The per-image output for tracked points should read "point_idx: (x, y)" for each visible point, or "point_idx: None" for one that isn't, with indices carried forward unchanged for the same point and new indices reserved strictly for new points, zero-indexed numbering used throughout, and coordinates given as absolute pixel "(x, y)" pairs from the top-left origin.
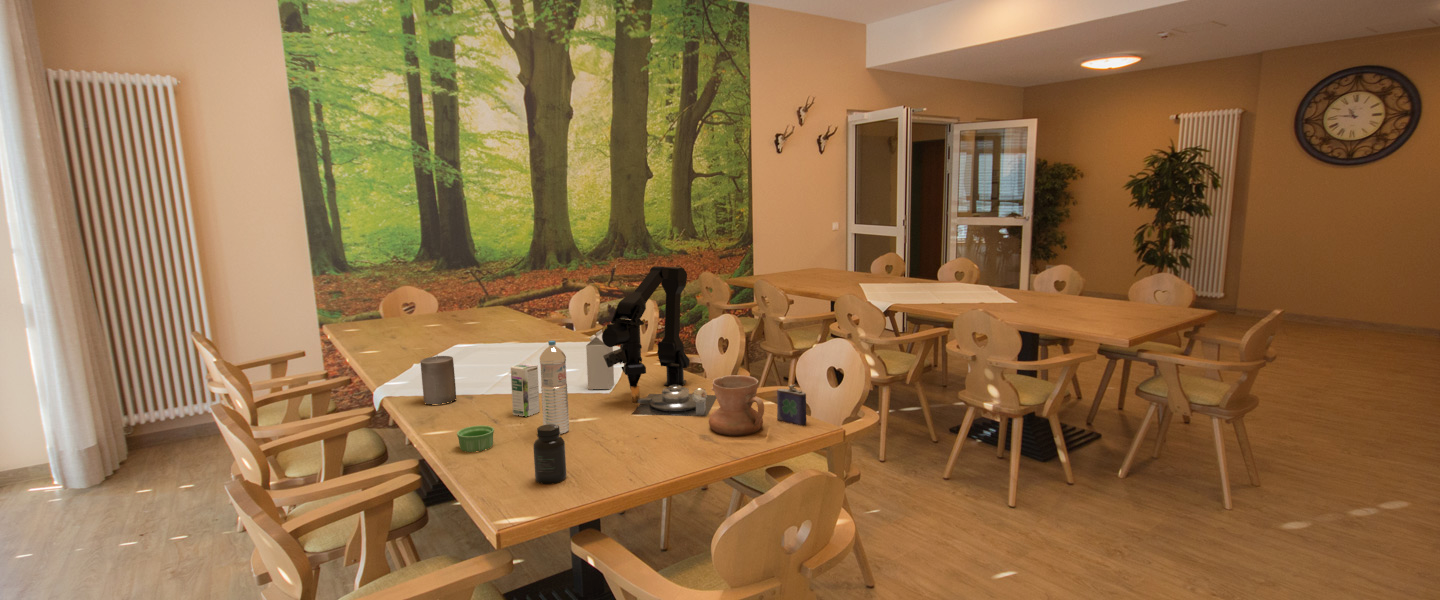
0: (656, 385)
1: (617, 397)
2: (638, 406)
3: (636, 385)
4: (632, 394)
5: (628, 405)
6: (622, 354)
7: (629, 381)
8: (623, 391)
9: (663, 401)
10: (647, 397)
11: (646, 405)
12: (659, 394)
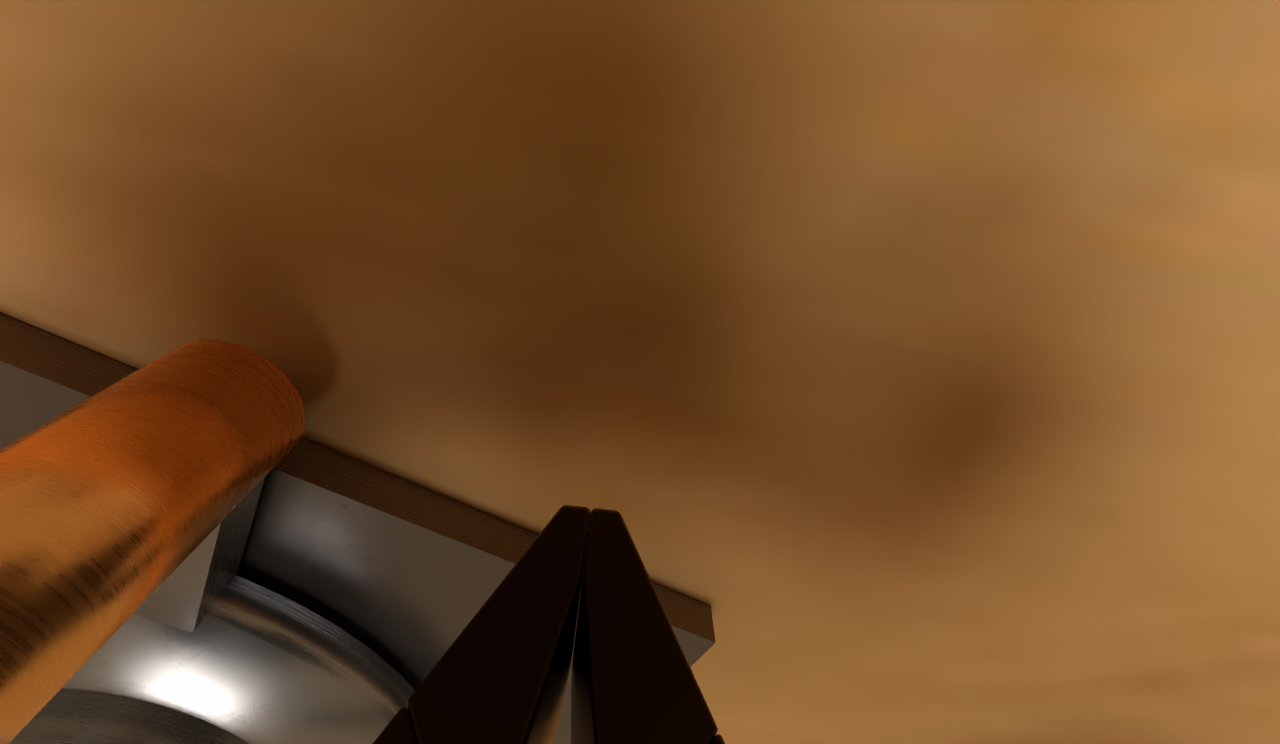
0: (1103, 740)
1: (963, 238)
2: (51, 388)
3: (1, 731)
4: (2, 450)
5: (383, 286)
6: None
7: (399, 713)
8: (1220, 413)
9: None
10: None
11: None
12: None
